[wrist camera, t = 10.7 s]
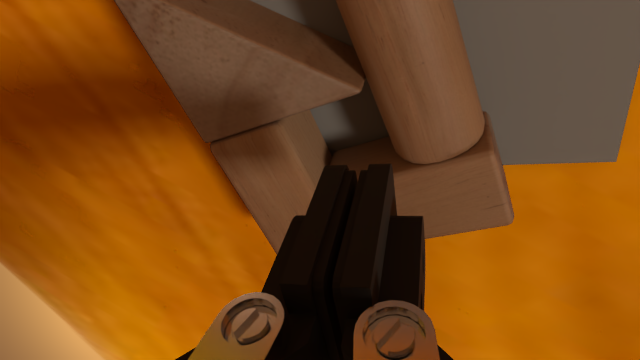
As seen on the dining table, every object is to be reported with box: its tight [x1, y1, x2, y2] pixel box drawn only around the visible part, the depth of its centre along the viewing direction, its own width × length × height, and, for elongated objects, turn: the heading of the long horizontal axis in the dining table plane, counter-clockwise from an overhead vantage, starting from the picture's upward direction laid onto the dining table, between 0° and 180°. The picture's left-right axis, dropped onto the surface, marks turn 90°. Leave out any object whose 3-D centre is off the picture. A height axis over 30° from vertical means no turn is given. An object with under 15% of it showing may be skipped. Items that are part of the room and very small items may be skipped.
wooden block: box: [114, 0, 514, 254], centre depth 16 cm, size 4×11×18 cm
